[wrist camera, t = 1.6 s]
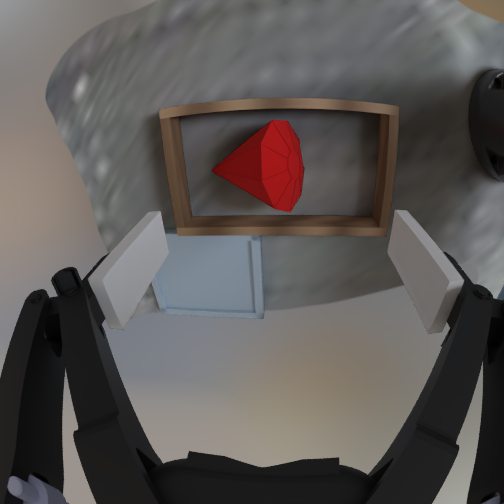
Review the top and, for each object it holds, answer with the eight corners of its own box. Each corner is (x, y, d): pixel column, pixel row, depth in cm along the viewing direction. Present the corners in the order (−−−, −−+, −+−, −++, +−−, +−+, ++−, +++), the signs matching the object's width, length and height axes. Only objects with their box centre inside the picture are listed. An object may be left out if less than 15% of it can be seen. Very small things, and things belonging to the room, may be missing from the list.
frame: (388, 104, 24) (399, 106, 22) (378, 224, 31) (386, 236, 29) (169, 107, 27) (158, 109, 24) (185, 224, 34) (177, 236, 31)
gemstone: (216, 226, 32) (299, 232, 27) (168, 177, 25) (259, 169, 20) (243, 167, 35) (318, 164, 30) (207, 117, 29) (290, 100, 23)
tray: (260, 227, 33) (259, 233, 32) (264, 311, 40) (263, 318, 38) (143, 229, 35) (138, 234, 33) (164, 306, 41) (161, 313, 40)
